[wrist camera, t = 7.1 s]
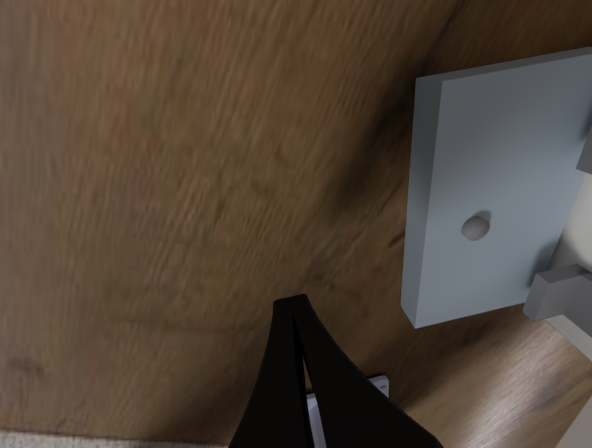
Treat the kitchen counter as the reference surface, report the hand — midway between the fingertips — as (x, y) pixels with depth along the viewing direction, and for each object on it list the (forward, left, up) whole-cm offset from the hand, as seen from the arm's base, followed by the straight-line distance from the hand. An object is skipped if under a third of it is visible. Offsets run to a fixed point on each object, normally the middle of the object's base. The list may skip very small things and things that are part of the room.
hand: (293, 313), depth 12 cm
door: (0, -11, -5) cm, 12 cm away
